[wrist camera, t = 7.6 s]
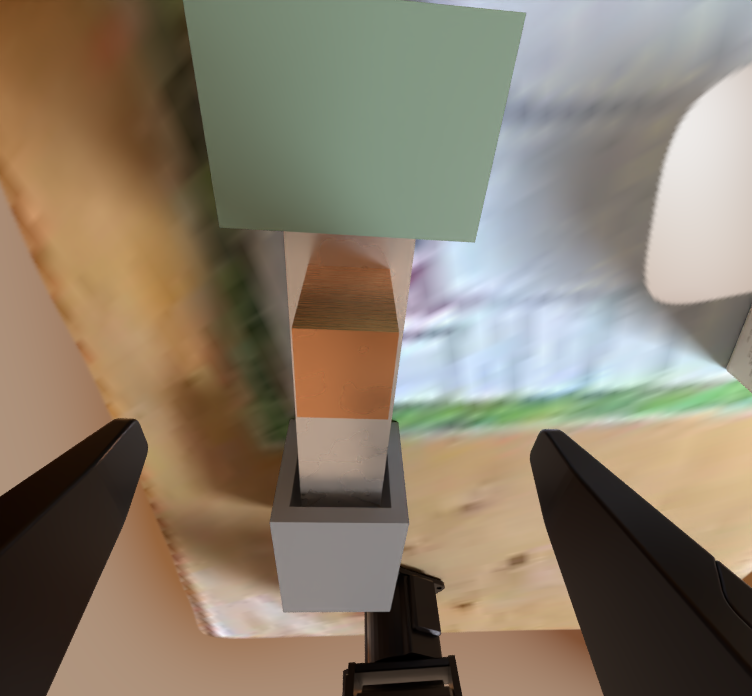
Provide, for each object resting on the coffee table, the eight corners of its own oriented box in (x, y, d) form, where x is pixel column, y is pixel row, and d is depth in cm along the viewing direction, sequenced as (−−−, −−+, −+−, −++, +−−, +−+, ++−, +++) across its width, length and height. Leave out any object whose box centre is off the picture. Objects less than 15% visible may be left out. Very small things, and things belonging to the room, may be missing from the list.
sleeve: (384, 514, 30) (389, 611, 25) (297, 513, 30) (283, 612, 24) (398, 422, 24) (409, 523, 19) (289, 419, 24) (269, 522, 18)
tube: (376, 459, 24) (382, 597, 18) (309, 458, 24) (291, 597, 18) (413, 130, 14) (456, 183, 8) (295, 120, 14) (241, 169, 7)
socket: (436, 182, 16) (474, 242, 11) (268, 171, 16) (219, 227, 10) (458, 33, 13) (525, 12, 8) (255, 14, 13) (179, -23, 8)
